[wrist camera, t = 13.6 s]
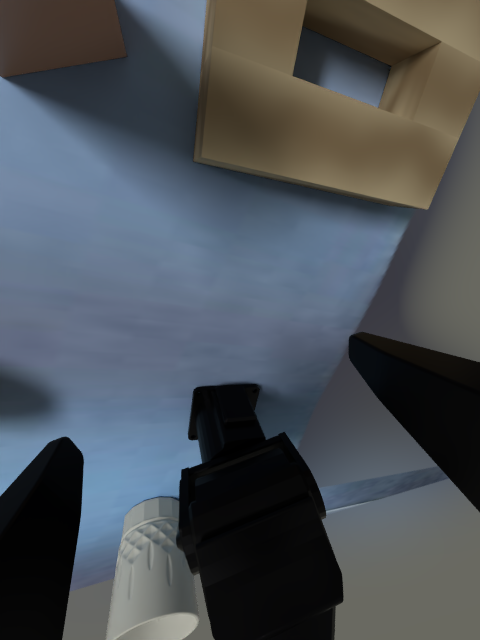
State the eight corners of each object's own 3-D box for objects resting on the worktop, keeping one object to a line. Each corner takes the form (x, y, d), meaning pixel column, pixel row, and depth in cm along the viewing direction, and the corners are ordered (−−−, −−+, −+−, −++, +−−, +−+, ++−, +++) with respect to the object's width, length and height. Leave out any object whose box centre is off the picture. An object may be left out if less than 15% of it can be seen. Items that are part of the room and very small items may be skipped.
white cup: (166, 483, 29) (171, 605, 21) (199, 510, 34) (213, 622, 25) (103, 517, 29) (81, 656, 21) (143, 541, 33) (139, 664, 25)
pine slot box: (389, 205, 21) (427, 209, 18) (193, 161, 16) (201, 157, 13) (468, 0, 16) (537, -41, 13) (220, -157, 11) (243, -278, 8)
